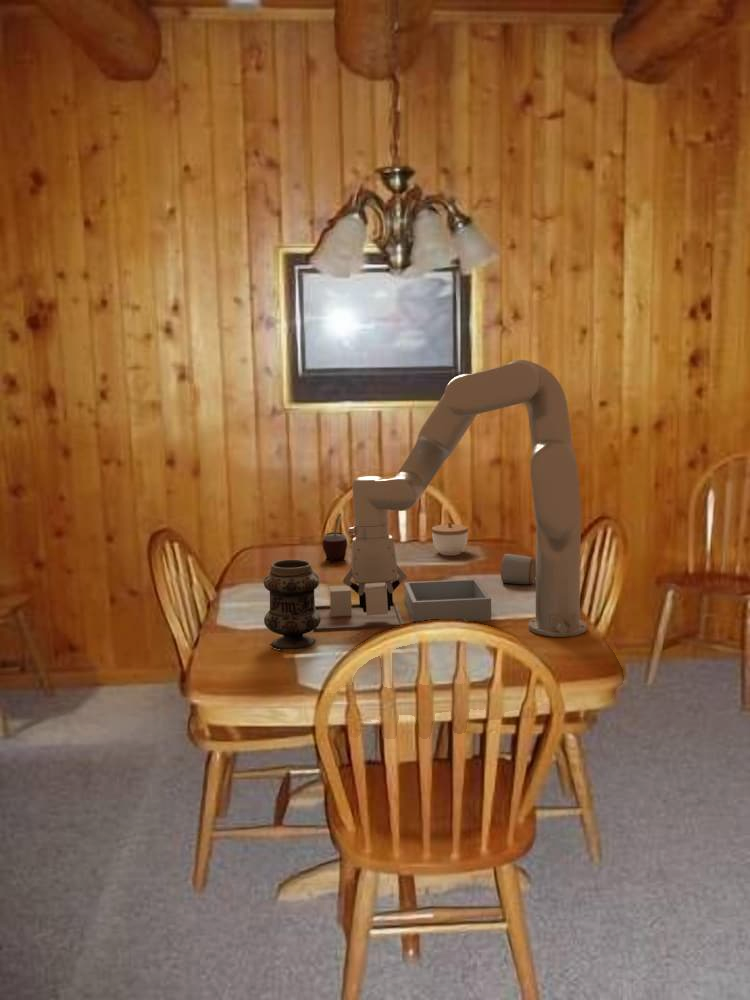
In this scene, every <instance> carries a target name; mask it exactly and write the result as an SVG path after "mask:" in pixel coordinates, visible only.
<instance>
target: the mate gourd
mask: <svg viewBox="0 0 750 1000" xmlns="http://www.w3.org/2000/svg"><path fill="white" fill-rule="evenodd" d="M341 515H342V513H339V514H338V515H337V517H336V519H335V522H334V523H335V526H334V532H328V533H326V534H325V535H324V536H323V539H322V549H323V551H324V554H325V556H326V557H325V561H327V560H330V561H329V562H330V563H329V564H333V563H332V562H334V561H336V562H337V561H345V562H346V559H345V557H346V551H347V548H348V540H347V537H346V535H345V533H343V532H339V531H338V530H337V529H338V523H339V518H340V517H341ZM337 531H338V532H337ZM334 563H335V562H334Z"/></svg>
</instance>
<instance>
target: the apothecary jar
mask: <svg viewBox="0 0 750 1000" xmlns="http://www.w3.org/2000/svg"><path fill="white" fill-rule="evenodd" d="M319 584H320V577H319V575H318V574H317V573H316V572H315V571H313V568H312V563H311V562H310V561H308V560H304V559H298V558H297V559H295V558H289V559H288V558H287V559H280V560H276V561H273V562H271V565H270V571H269V573H268V574H266V576H264V579H263V585H264V588H265V589H266V590H267V591H269V610H268V611H267V613H265V615H264V618H263V622H264V626H265V627H266V628H267V629H268V630H269V631H271V632H272V633H275V634H278V635H282V636H280V637H278V638H276V639H274V640H272V642H271V643H270V647H271V646H272V647H273V648H276V649H280V650H284V651H285V650H289V651H291V650H292V651H293V650H301V649H303V650H304V649H307V648H309V647H310V648H311V647H312V646H314V645H315V644H316V642H317V640H316V639H315V638H313V637H310V636H308V635H306V634H308V633H310V632H313V631H314V629H315V628H316V627H317V626H318V625H319V624H320V621H321V616H320V614H319V612H318V611H317V610H316V609H315V606H316V601H315V590H316V589H318V586H319ZM273 648H272V649H273Z"/></svg>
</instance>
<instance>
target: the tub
mask: <svg viewBox="0 0 750 1000" xmlns="http://www.w3.org/2000/svg"><path fill="white" fill-rule="evenodd" d="M403 584H404V585H403V586H404V587H403V590H404V592H403V593H404V598H403V599H404V602H405V605H406V607H407V610H408V612H409V615H410V618H411V619H412V620H411V621H412V622H425V621H424V620H430V621H432V620H431V619H451V620H461V619H463V620H464V619H465V620H468V621H467V622H474V621H475V620H477V621H479V622H480V621H492V598H491V596H490V595H489V594H488V592H487V591H486V590H485V588H484V586H482V584H481V583H480V581H479V580H478V579H477V578H476V579H475V578H472V579H471V578H470V579H469V578H467V579H448V580H447V579H446V580H424V581H405V582H404V581H403ZM477 621H475V622H477Z"/></svg>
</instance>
